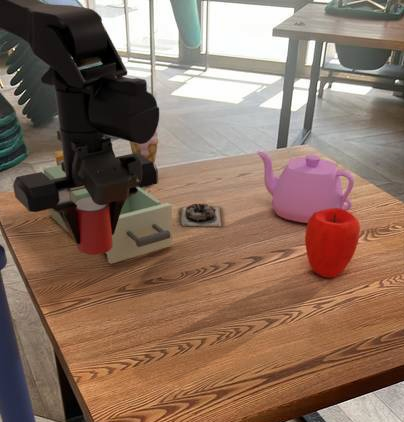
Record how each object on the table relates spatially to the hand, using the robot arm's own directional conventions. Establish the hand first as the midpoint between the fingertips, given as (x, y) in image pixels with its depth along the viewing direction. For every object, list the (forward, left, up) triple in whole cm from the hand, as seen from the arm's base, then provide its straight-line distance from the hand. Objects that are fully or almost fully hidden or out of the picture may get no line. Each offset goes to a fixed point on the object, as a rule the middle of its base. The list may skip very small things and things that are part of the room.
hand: (94, 238), depth 82 cm
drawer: (+13, +14, -11) cm, 22 cm away
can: (0, 0, -1) cm, 1 cm away
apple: (+37, -11, -12) cm, 41 cm away
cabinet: (+13, +27, -12) cm, 32 cm away
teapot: (+49, +9, -12) cm, 51 cm away
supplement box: (+12, +39, -12) cm, 42 cm away
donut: (+31, +18, -12) cm, 38 cm away
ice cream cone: (+29, +37, -12) cm, 48 cm away
